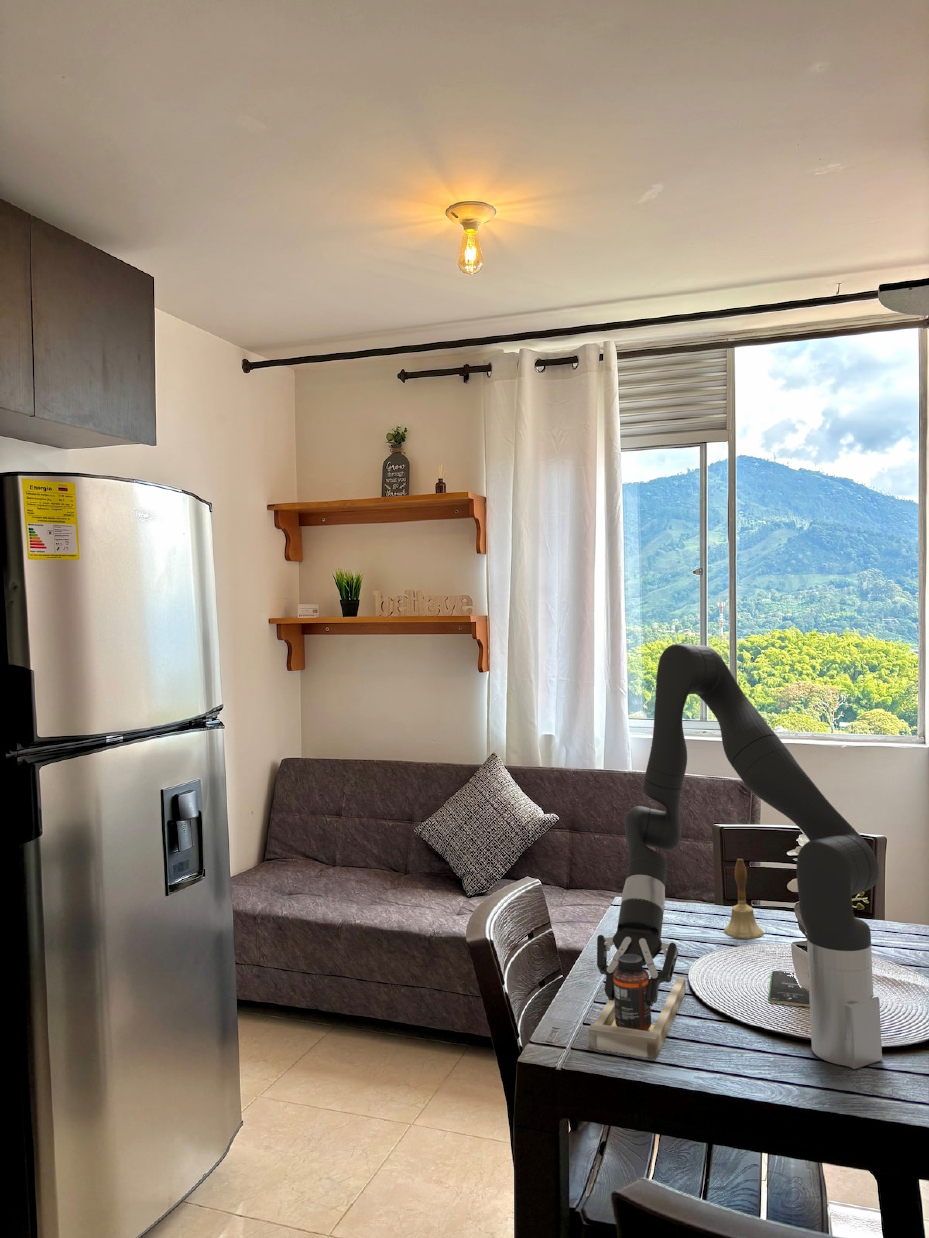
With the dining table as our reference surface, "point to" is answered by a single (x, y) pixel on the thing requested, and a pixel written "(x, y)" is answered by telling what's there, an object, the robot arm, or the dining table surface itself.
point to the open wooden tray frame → (633, 1039)
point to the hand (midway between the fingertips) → (629, 1000)
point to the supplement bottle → (631, 993)
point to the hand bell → (742, 910)
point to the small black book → (786, 990)
